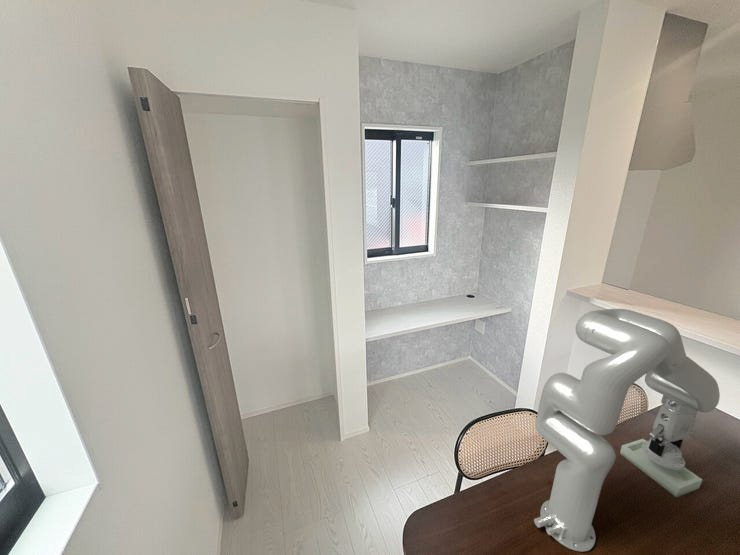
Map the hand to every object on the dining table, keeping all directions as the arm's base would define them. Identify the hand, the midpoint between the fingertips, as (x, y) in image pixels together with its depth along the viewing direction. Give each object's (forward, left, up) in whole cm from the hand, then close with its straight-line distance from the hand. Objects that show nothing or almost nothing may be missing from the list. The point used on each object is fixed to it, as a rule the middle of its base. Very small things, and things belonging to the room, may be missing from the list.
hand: (664, 449), depth 94 cm
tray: (0, 0, -9) cm, 9 cm away
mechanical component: (0, 0, -3) cm, 3 cm away
